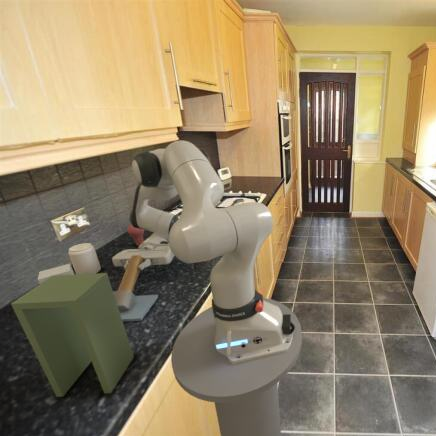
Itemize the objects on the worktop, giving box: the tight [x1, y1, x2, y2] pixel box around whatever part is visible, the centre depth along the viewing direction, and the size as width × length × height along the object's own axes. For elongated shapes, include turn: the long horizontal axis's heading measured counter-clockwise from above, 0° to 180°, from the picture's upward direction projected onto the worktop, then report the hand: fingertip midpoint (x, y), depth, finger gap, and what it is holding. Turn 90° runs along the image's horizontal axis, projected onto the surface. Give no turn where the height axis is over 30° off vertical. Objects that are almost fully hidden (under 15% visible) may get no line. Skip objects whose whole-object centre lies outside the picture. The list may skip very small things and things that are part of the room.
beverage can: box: [68, 242, 102, 274], centre depth 109 cm, size 8×8×12 cm
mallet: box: [113, 255, 144, 311], centre depth 91 cm, size 6×19×4 cm
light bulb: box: [127, 223, 146, 246], centre depth 132 cm, size 7×7×12 cm
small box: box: [37, 263, 75, 285], centre depth 90 cm, size 8×6×13 cm
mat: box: [119, 294, 159, 323], centre depth 89 cm, size 16×12×1 cm
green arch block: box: [10, 272, 135, 398], centre depth 61 cm, size 12×10×26 cm
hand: (133, 268), depth 94 cm, fingers closed on mallet, 3 cm apart
